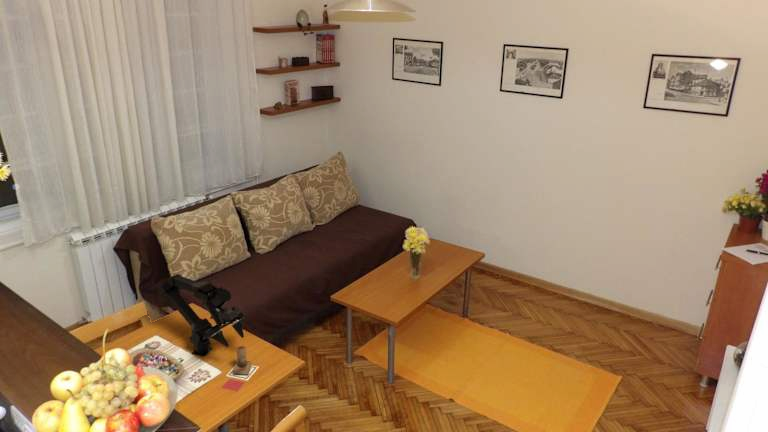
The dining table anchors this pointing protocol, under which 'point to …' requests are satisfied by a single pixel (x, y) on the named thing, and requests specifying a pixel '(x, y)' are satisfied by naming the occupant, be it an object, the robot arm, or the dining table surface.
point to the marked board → (252, 370)
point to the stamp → (242, 363)
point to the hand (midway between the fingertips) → (235, 342)
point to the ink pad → (233, 385)
